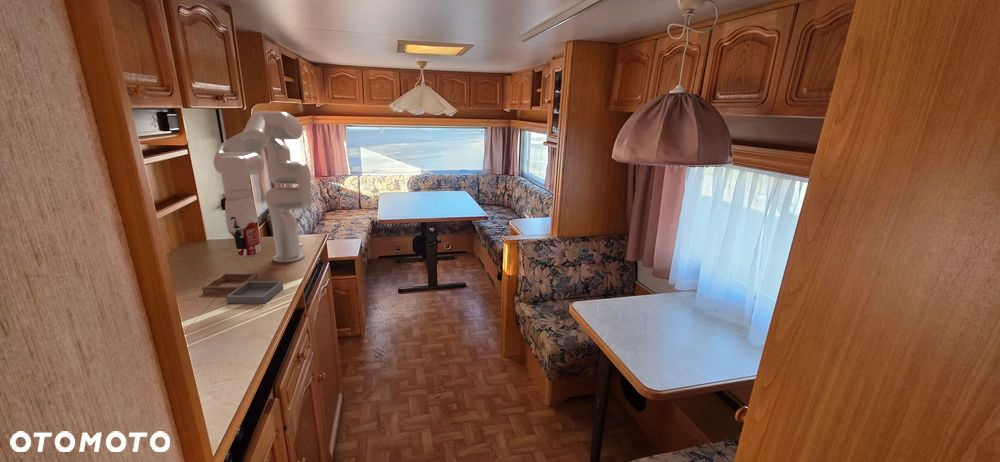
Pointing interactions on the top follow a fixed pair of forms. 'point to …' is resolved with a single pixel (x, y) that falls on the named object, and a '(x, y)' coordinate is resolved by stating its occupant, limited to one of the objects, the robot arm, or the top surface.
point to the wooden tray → (212, 286)
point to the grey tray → (254, 293)
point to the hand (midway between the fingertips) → (247, 244)
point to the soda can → (250, 241)
